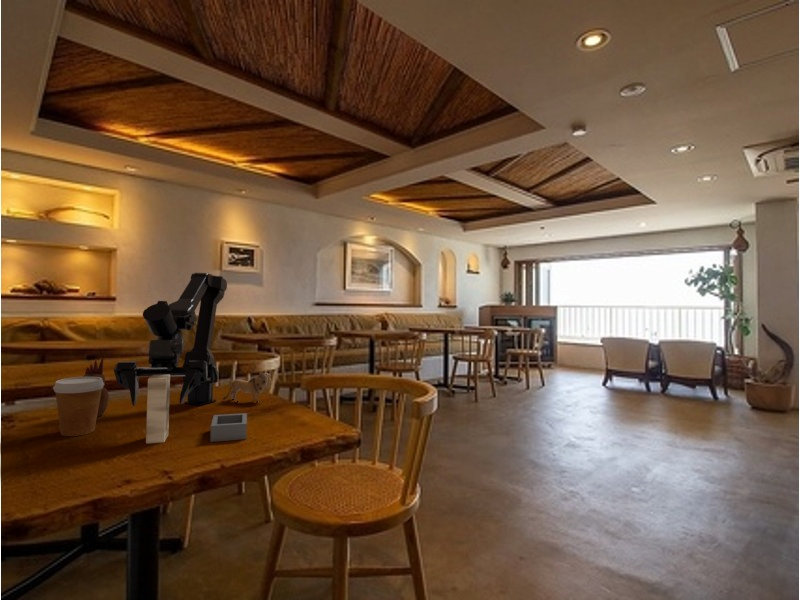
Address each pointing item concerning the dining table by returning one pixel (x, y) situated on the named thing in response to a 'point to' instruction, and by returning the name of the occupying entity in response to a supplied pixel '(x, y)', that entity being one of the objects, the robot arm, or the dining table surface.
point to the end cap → (228, 427)
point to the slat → (158, 408)
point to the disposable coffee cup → (78, 404)
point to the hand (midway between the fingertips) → (157, 403)
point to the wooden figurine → (104, 393)
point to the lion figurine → (251, 386)
